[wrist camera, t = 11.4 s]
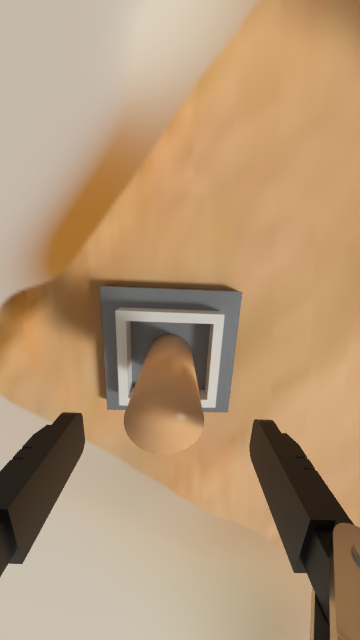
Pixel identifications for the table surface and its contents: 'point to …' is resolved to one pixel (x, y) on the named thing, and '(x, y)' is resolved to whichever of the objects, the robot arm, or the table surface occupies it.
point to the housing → (169, 318)
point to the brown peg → (165, 399)
